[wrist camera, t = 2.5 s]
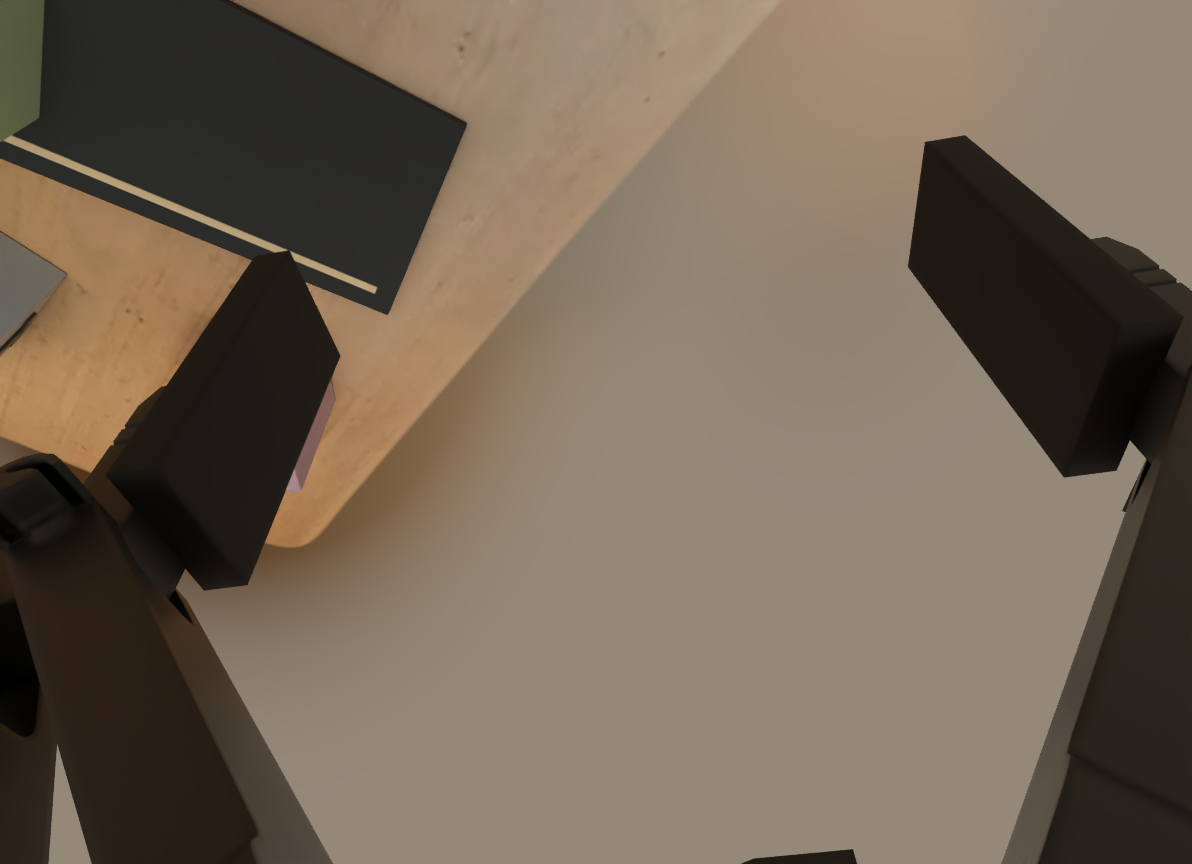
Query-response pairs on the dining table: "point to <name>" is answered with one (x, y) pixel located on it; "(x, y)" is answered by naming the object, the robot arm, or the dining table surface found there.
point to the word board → (238, 137)
